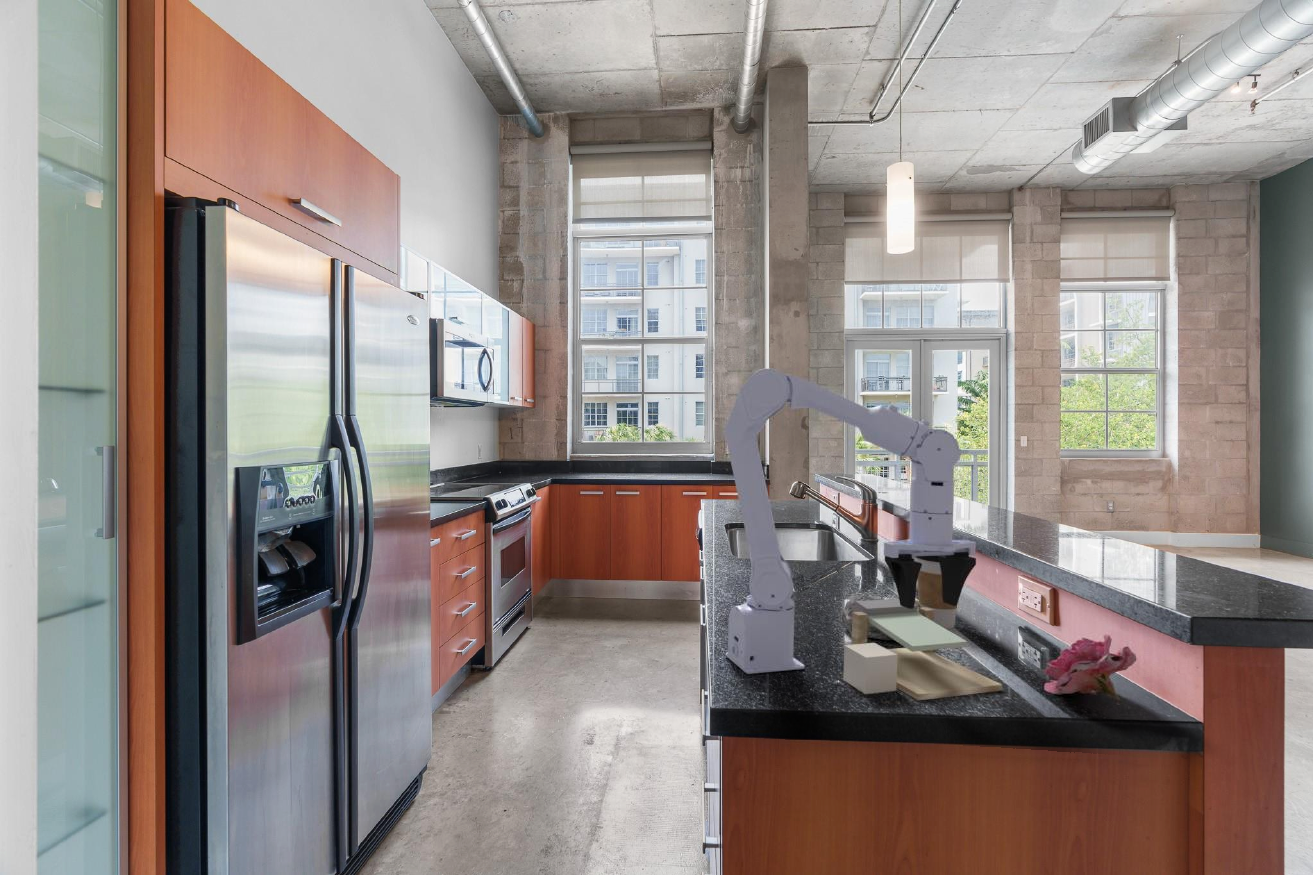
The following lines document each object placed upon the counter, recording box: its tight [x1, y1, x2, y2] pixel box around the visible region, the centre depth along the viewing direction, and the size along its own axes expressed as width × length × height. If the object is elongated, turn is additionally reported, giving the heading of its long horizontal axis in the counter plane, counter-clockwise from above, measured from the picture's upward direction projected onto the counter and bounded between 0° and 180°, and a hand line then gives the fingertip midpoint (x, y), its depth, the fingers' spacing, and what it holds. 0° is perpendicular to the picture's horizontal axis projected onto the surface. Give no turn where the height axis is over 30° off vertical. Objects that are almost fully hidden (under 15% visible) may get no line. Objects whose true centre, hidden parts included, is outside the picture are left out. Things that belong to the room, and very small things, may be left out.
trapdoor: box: [855, 598, 968, 652], centre depth 94 cm, size 9×14×3 cm
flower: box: [1043, 634, 1137, 709], centre depth 84 cm, size 11×10×10 cm
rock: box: [841, 594, 921, 641], centre depth 110 cm, size 13×6×15 cm
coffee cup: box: [914, 555, 958, 630], centre depth 117 cm, size 8×8×15 cm
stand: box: [850, 607, 1003, 701], centre depth 91 cm, size 14×16×8 cm
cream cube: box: [842, 642, 897, 695], centre depth 86 cm, size 5×5×5 cm
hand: (928, 605), depth 90 cm, fingers open, 7 cm apart
